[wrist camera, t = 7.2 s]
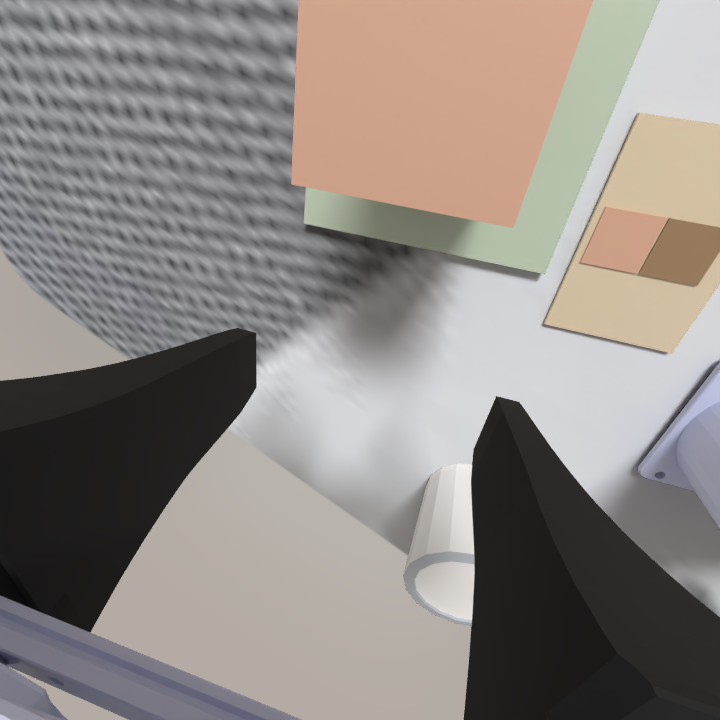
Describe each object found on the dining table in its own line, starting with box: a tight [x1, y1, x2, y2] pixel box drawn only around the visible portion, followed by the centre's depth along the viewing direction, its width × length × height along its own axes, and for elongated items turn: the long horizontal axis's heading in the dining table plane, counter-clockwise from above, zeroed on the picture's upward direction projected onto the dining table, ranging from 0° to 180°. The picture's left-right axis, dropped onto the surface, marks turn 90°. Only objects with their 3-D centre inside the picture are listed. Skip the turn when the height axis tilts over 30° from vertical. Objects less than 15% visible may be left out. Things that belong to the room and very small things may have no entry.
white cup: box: [403, 464, 475, 626], centre depth 23 cm, size 7×7×7 cm
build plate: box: [304, 0, 659, 274], centre depth 15 cm, size 12×12×1 cm
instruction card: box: [544, 113, 720, 353], centre depth 16 cm, size 6×9×1 cm, turn 172°
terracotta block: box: [291, 0, 593, 228], centre depth 9 cm, size 5×5×5 cm
